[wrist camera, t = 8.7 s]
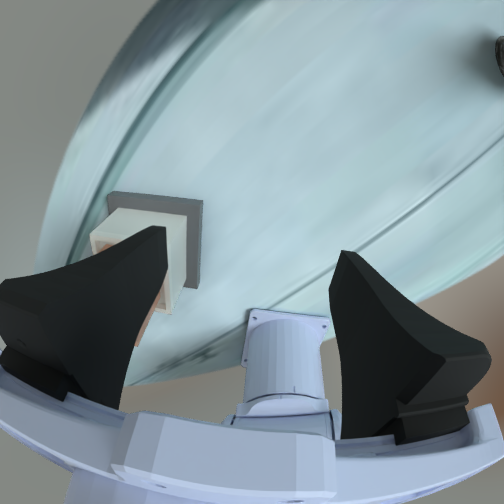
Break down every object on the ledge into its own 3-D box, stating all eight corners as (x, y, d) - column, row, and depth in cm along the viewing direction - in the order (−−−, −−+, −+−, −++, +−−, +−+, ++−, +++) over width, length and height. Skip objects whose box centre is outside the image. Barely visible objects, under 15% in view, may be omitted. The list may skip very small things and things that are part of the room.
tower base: (199, 282, 26) (184, 326, 21) (121, 268, 25) (95, 305, 21) (203, 200, 21) (182, 234, 17) (113, 191, 21) (76, 219, 17)
